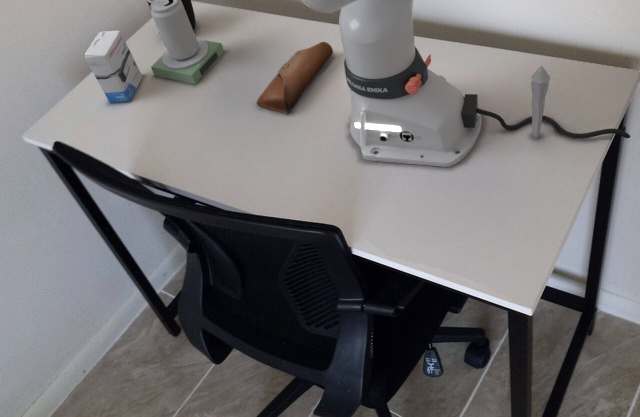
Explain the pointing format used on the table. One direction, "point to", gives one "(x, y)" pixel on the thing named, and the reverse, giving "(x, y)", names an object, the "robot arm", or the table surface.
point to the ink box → (113, 66)
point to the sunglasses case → (294, 78)
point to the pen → (538, 98)
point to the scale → (189, 63)
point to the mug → (188, 8)
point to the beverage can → (174, 28)
